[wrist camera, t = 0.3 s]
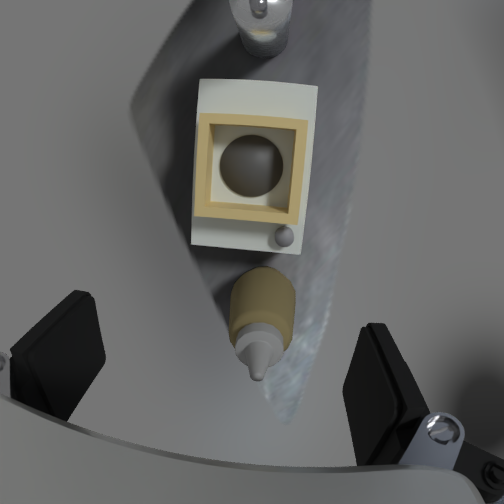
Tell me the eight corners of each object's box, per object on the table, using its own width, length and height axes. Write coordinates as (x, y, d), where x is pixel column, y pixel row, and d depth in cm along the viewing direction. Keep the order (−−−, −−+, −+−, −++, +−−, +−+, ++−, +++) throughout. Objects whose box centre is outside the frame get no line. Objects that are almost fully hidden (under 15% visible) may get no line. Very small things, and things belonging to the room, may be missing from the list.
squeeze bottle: (243, 316, 44) (226, 411, 27) (226, 265, 42) (196, 347, 25) (299, 305, 43) (311, 399, 26) (287, 251, 40) (295, 329, 23)
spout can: (244, 19, 31) (228, -38, 17) (288, 22, 30) (295, -35, 17) (240, 57, 32) (221, 12, 19) (286, 60, 32) (292, 15, 19)
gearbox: (210, 88, 34) (192, 72, 26) (310, 95, 34) (322, 80, 25) (202, 229, 40) (184, 253, 32) (296, 238, 40) (302, 264, 31)
